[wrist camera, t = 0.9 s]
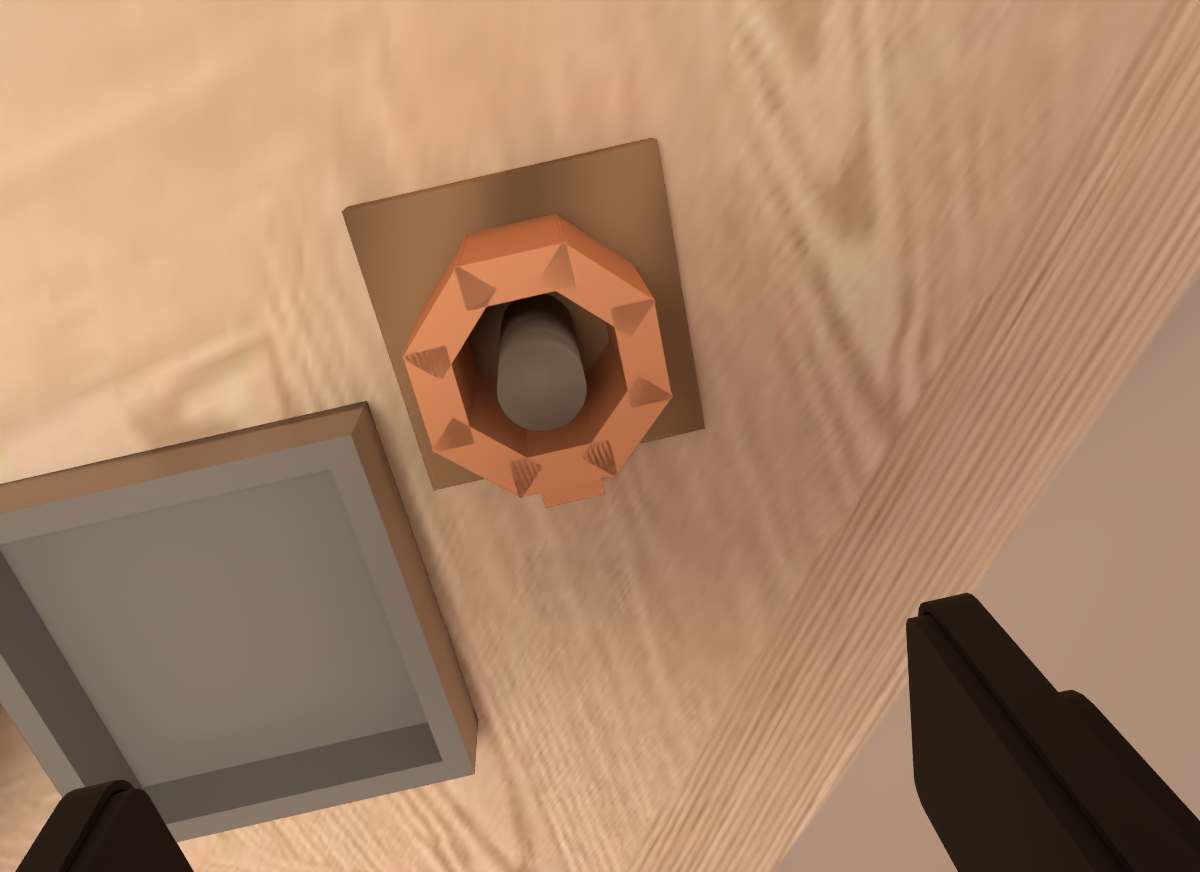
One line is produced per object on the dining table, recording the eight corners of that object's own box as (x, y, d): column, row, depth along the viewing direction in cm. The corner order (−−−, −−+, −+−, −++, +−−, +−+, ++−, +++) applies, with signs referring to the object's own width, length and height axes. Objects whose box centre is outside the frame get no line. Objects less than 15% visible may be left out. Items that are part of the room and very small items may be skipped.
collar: (619, 198, 26) (641, 223, 22) (665, 440, 30) (692, 505, 25) (402, 247, 26) (377, 283, 22) (474, 483, 30) (466, 557, 25)
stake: (652, 137, 26) (694, 156, 20) (699, 418, 31) (747, 508, 24) (347, 206, 26) (294, 247, 20) (436, 477, 30) (414, 584, 24)
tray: (366, 401, 29) (351, 434, 26) (477, 719, 35) (474, 774, 32) (-49, 495, 29) (-108, 539, 26) (135, 798, 35) (102, 859, 32)
